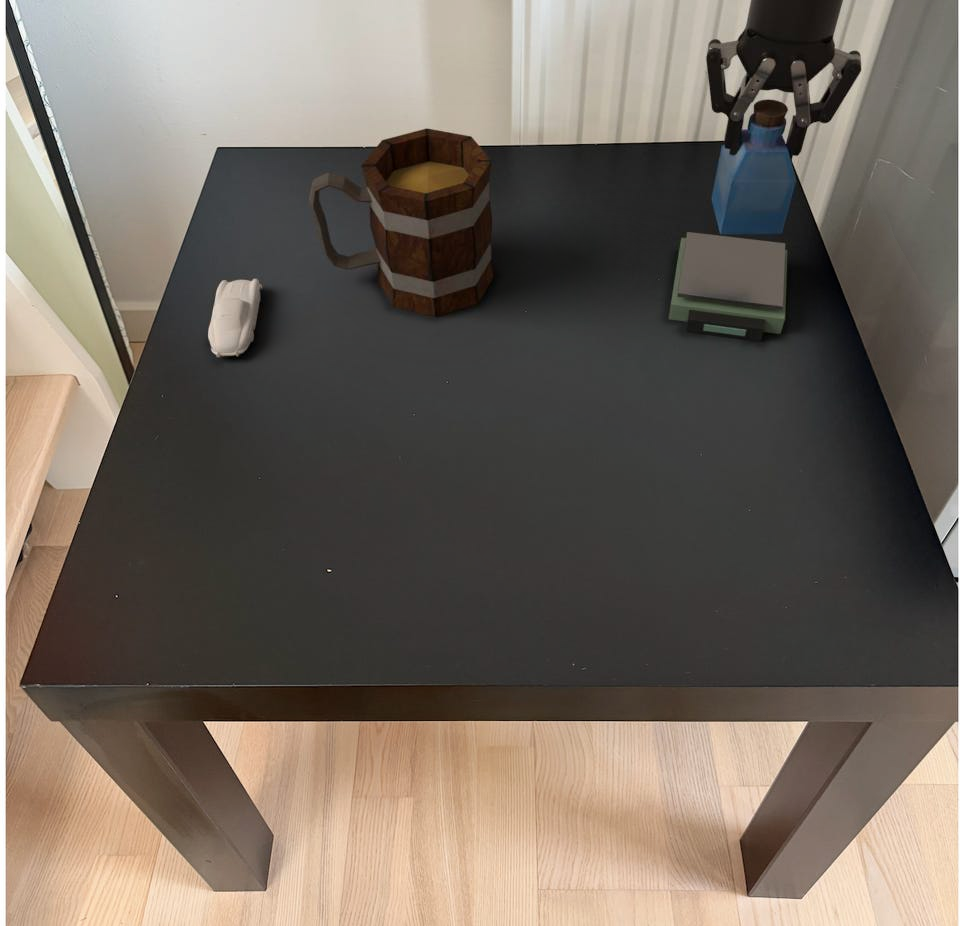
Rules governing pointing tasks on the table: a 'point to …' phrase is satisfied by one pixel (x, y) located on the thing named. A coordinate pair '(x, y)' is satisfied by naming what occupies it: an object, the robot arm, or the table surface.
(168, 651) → the table surface
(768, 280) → the pan
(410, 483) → the table surface
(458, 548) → the table surface
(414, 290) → the mug
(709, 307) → the scale
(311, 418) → the table surface
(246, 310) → the toy car
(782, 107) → the perfume bottle
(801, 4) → the robot arm
